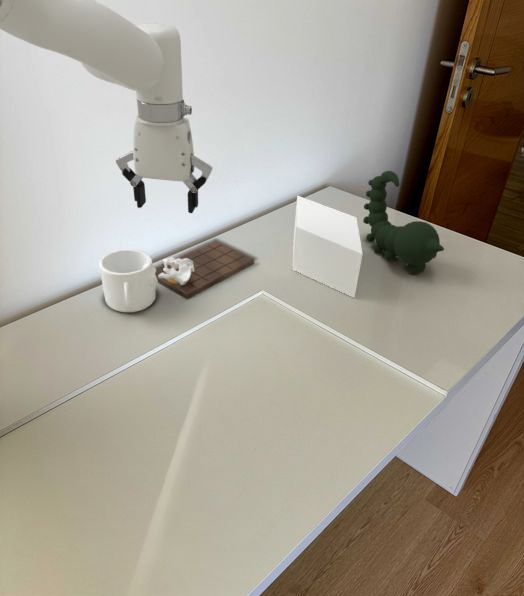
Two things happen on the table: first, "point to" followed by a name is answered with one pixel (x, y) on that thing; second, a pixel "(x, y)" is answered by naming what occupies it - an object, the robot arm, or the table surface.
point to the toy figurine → (398, 230)
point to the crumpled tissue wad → (184, 269)
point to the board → (207, 268)
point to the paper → (327, 246)
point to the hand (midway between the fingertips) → (166, 207)
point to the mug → (128, 280)
